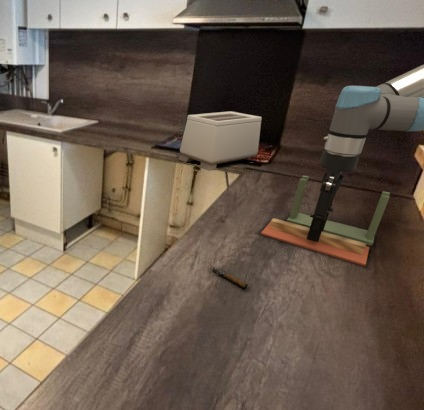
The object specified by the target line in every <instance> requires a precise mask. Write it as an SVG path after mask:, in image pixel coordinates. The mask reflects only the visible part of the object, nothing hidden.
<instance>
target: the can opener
mask: <svg viewBox="0 0 424 410" xmlns="http://www.w3.org/2000/svg"><path fill="white" fill-rule="evenodd" d="M212 271H213V272H216V274H218V275H223V277H224V278H225V279H227V280H229V281H231V282H232V283H234V284H236V285H238V286H239V287H241V288H244V289H247V288H248V286H249V285H248V284H247V282H245V281H242V280H241V279H239V278H237V277H234V276H233V275H231V274H229V273H227V272H225V271H224V270H223V269H220V268H218V267H215V266H213V267H212Z"/></svg>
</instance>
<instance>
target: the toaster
mask: <svg viewBox="0 0 424 410" xmlns="http://www.w3.org/2000/svg"><path fill="white" fill-rule="evenodd" d="M262 120H263V119H262V116H259V115H253V114H247V113H242V112H237V111H220V112H208V113H198V114H197V113H196V114H188V115H187V118H186V124H185V127H184V131H183V136H182V139H181V143H180V148H179V154H180V156H179V157H178V158H177V160H179V161H181V162H184V163H189V162H193V161H197V162H200V165H199V166H200V169H203V170H205V171H208V172H211V171H216V170H217V166H218V165H220V164H225V163H230V162H236V161H243V160H242V159H246V158H251V157H255V158H256V156H258V153H259V146H260V136H261V125H262ZM249 163H250V164H252V163H253V162H249Z"/></svg>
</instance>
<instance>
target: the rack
mask: <svg viewBox="0 0 424 410" xmlns="http://www.w3.org/2000/svg"><path fill="white" fill-rule="evenodd" d="M309 179H310V176H308V175H302V176H301V178H299V180H298V181H299V182H298V184H297V188H296V192H295V195H294V198H293V202H292V206H291V209H290V213H289V216H288V218H287V219H286V220H285V221H286V222H289V223H293V224H297V225H300V226H304V227H308V228H310V226H311V223H312V219H313V218H312V217H310V215H309V214H305V213H301V212H300V210H301V207H302V203H303V199H304V196H305V192H306V189H307V185H308V182H309ZM390 196H391V192H388V191H382V192H381V195H380V196H379V199H378V203H377V205H376V208H375V210H374V213H373V215H372V217H371V218H372V219H371V221H370V224H369V226H368V228H367V229H363V228H359V227H356V226H352V225H347V224H344V223H340V222H336V221H333V220H328V219H327V221H326V224H325V227H324V231H323V232H326V233H329V234H333V235H337V236H340V237H344V238H348V239H351V240H355V241H359V242H362V243H366V246H369V247H373V245H374V242H375V241H374V240H375V237H376V234H377V230H378V228H379V226H380V223H381V221H382V219H383V215H384V212H385V210H386V207H387V205H388V203H389V200H390Z"/></svg>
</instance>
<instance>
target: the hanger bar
mask: <svg viewBox="0 0 424 410" xmlns="http://www.w3.org/2000/svg"><path fill="white" fill-rule="evenodd" d="M286 221H287V220H282V219H278V218H276V217H275V218H272V219H271V220H270V222H271V223H270V222H269V223H270V227H269V228H271V229H274V230H278V231H281V232H284V233H288V234H291V235H295V236H298V237H302V238H305V239H307V236H308V232H309V229H310V228H308V227H304V226H300V225H297V224H293V223H289V222H286ZM319 243H322V244H326V245H329V246H332V247H336V248H339V249H343V250H346V251H350V252H353V253H356V254H360V255H363V252H364V250H365V247H366V246H367V245H366V243H362V242H359V241H355V240H351V239H348V238H344V237H340V236H337V235H333V234H329V233H326V232H321V236H320V239H319Z"/></svg>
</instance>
